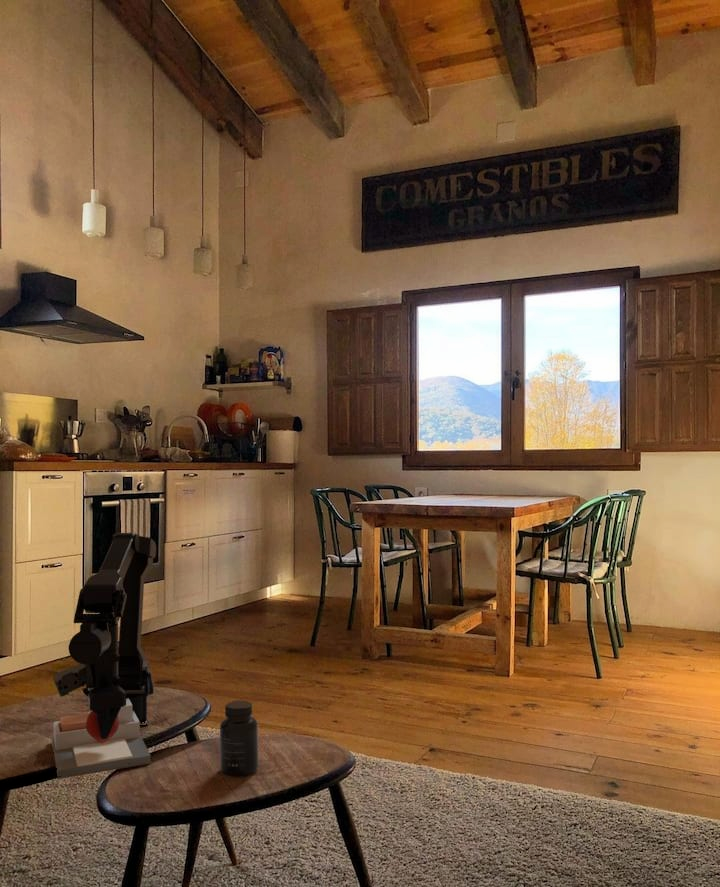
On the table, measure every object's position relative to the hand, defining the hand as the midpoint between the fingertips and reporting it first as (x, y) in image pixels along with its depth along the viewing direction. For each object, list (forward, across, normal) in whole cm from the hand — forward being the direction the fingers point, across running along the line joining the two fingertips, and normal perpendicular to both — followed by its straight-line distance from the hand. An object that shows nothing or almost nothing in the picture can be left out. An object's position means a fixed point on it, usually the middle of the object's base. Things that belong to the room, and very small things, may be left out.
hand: (102, 733), depth 146 cm
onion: (+2, 0, 0) cm, 2 cm away
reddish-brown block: (+4, -9, -4) cm, 10 cm away
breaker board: (+5, -4, 0) cm, 7 cm away
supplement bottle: (+5, +15, +22) cm, 27 cm away
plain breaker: (+2, -9, +4) cm, 10 cm away
